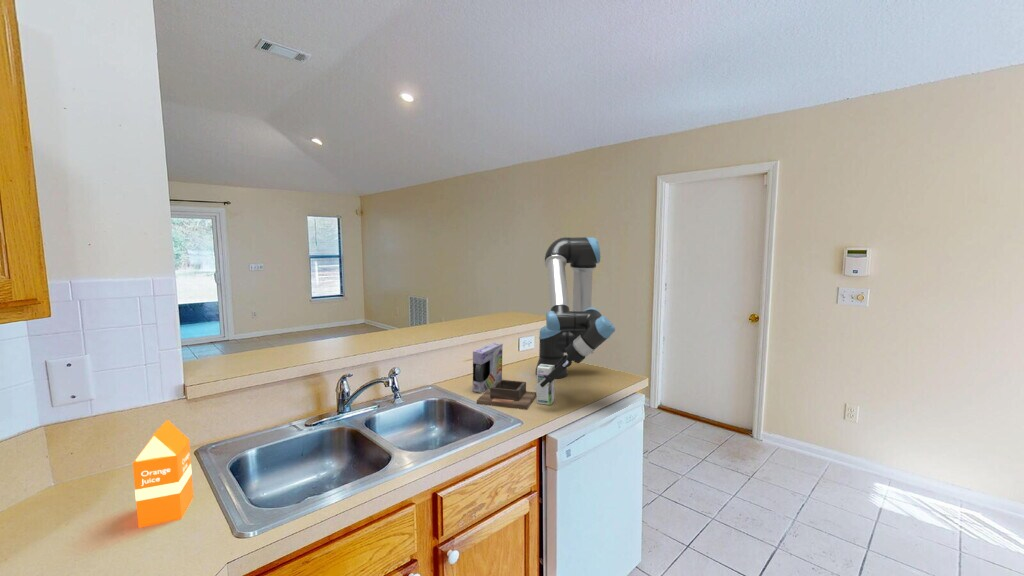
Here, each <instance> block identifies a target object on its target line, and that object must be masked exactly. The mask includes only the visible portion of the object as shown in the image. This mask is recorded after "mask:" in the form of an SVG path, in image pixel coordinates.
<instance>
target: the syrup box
mask: <svg viewBox="0 0 1024 576" xmlns="http://www.w3.org/2000/svg"><path fill="white" fill-rule="evenodd" d="M536 367H537V366H536ZM554 369H555V366H554V365H547V364H540V365H539V366H538V367H537V375H536V385H537V384H538V383H539V382H540V381H541V380H542V379H543V378H545V377H544V376H545V375H546V376H548V375H549V374H550V373H551V372H552V371H553V370H554ZM549 378H550V377H549ZM554 401H555V379H554V380H553V381H552V382H551V383H549V384H548V385H547V386H546V387H545V388H544V389H543V390H541V391H540V392H539V393H537V392H536V404H538V405H539V404H540V405H548V406H551V405H552V404H553V403H554Z"/></svg>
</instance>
